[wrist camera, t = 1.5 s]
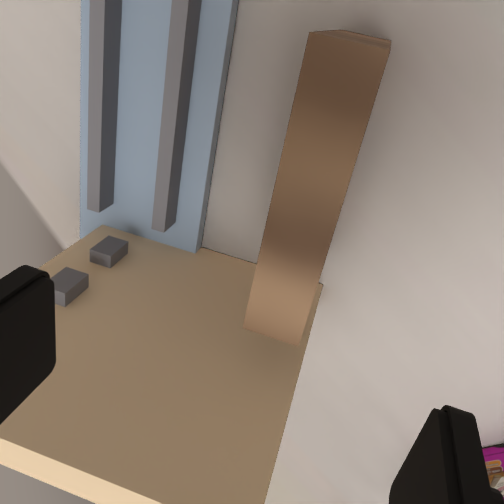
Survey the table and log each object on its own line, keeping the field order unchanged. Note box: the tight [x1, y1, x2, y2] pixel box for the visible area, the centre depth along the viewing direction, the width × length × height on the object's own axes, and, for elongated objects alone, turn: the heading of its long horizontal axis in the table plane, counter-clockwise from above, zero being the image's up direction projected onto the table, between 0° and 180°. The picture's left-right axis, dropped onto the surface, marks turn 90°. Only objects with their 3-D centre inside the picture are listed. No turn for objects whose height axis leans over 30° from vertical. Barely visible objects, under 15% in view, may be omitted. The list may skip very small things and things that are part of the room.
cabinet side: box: [0, 0, 323, 504], centre depth 23 cm, size 24×20×20 cm
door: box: [243, 30, 391, 347], centre depth 25 cm, size 15×3×12 cm, turn 169°
